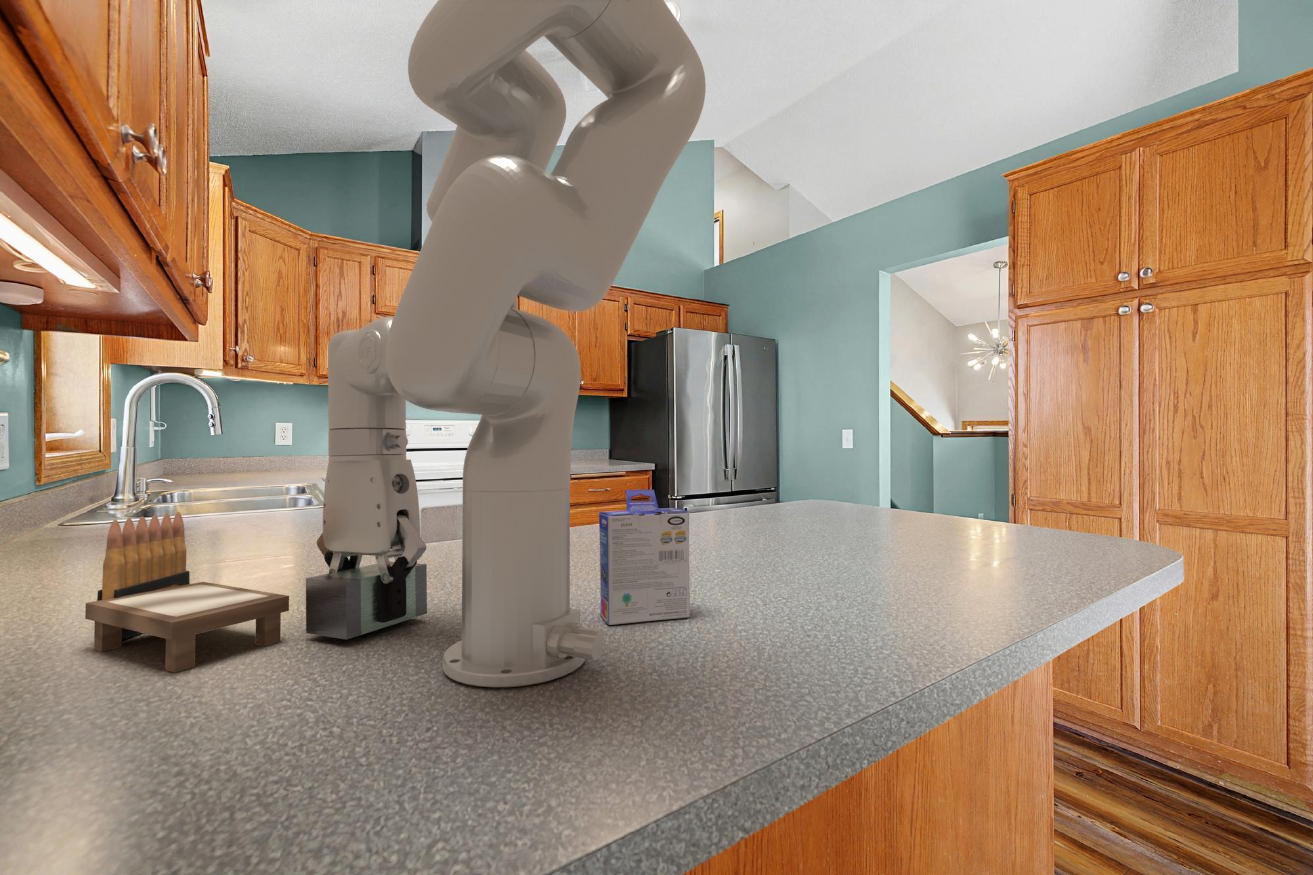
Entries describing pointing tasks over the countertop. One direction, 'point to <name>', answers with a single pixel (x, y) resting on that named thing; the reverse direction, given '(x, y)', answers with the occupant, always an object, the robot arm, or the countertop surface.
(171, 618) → the stand
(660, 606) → the ink cartridge box
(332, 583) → the block
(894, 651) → the countertop surface
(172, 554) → the ammunition clip
